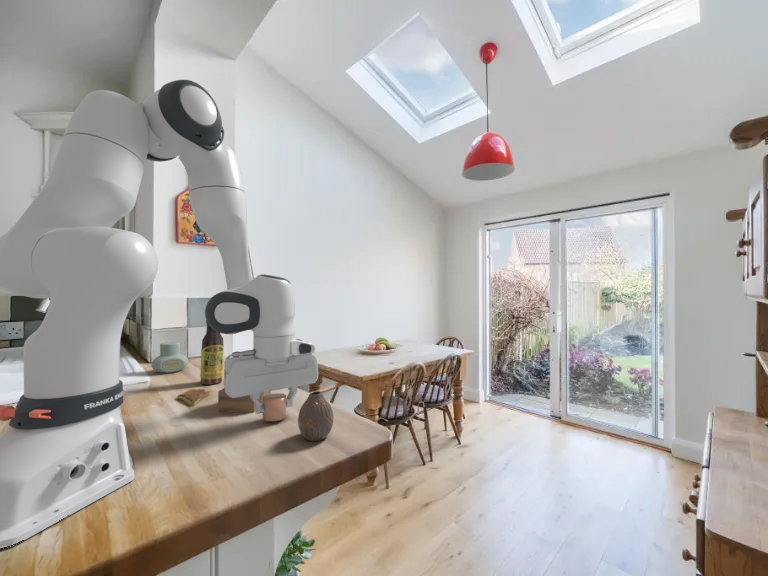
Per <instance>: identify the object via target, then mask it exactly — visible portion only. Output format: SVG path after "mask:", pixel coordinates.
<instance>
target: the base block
mask: <svg viewBox="0 0 768 576" xmlns="http://www.w3.org/2000/svg"><path fill="white" fill-rule="evenodd" d="M269 394H271V391H269V392H264V393H260V396H259V398H257V400H258V402H259V403H263V397H264V396H265V395H269ZM217 397H218V398H217V400H218V401H217V403H218V404H217V405H218V407H217V409H218V410H217V411H218V412H230V411H232V413H233V412H234V413H235V412H237V413H238V412H240V413H256V412H255V404H254V402H253V401H252V399H251V398H250V395H247V396H242V397H237V398H231V397H229V396H228V395H227V394H226V393H225V390H224V387H223V388H222V389H220V390H218V391H217Z"/></svg>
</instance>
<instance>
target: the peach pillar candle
mask: <svg viewBox="0 0 768 576" xmlns="http://www.w3.org/2000/svg"><path fill="white" fill-rule="evenodd" d="M286 398H287V395H286V394H284V393H281V392H280V393H279V392H278V393H277V392H276V393H270V394H269V395H265V396H264V397H263V404H264V405H265V408H264V410H265V412H264V413H262V420H263V421H266V422H277V421H281V420H284V419H285V418H287V408H286Z"/></svg>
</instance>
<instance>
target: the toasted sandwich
mask: <svg viewBox="0 0 768 576" xmlns="http://www.w3.org/2000/svg"><path fill="white" fill-rule="evenodd" d="M212 394H213V390H211V389H208V388H207V389H206V388H202V389H201V388H192V389H188V390H186V391H185V392H182V393H181V394H178V395H177V396H176V398H177V399H178V400H181V401H182V400H183V402H184V403H186V404H187V405H189V406H191V407H195V406H197V404H199V403H200V402H201V401H203V400H205V398H208V397H209V396H210V395H212Z"/></svg>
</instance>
